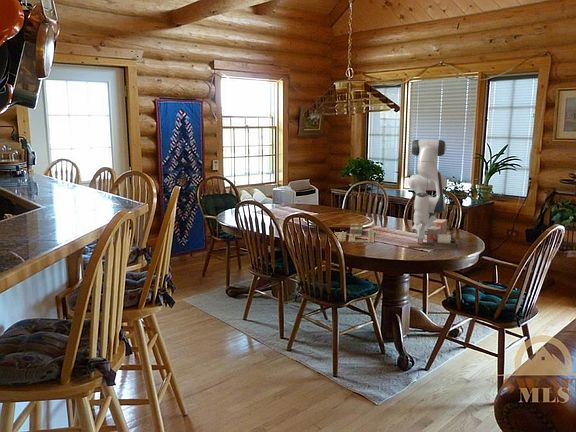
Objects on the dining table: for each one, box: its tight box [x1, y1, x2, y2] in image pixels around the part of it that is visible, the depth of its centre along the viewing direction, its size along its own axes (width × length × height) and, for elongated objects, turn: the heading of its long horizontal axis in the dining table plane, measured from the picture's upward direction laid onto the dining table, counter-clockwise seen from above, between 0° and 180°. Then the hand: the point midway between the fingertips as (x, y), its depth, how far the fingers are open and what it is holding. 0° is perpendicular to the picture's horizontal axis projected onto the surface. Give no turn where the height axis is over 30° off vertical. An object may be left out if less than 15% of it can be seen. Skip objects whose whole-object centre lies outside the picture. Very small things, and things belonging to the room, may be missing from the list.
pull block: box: [417, 234, 452, 245], centre depth 303 cm, size 6×19×6 cm, turn 78°
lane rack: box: [407, 237, 459, 251], centre depth 303 cm, size 12×28×5 cm, turn 78°
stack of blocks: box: [426, 218, 448, 242], centre depth 318 cm, size 21×6×12 cm, turn 146°
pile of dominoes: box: [334, 223, 375, 244], centre depth 333 cm, size 35×27×6 cm
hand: (420, 241), depth 304 cm, fingers closed on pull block, 2 cm apart
